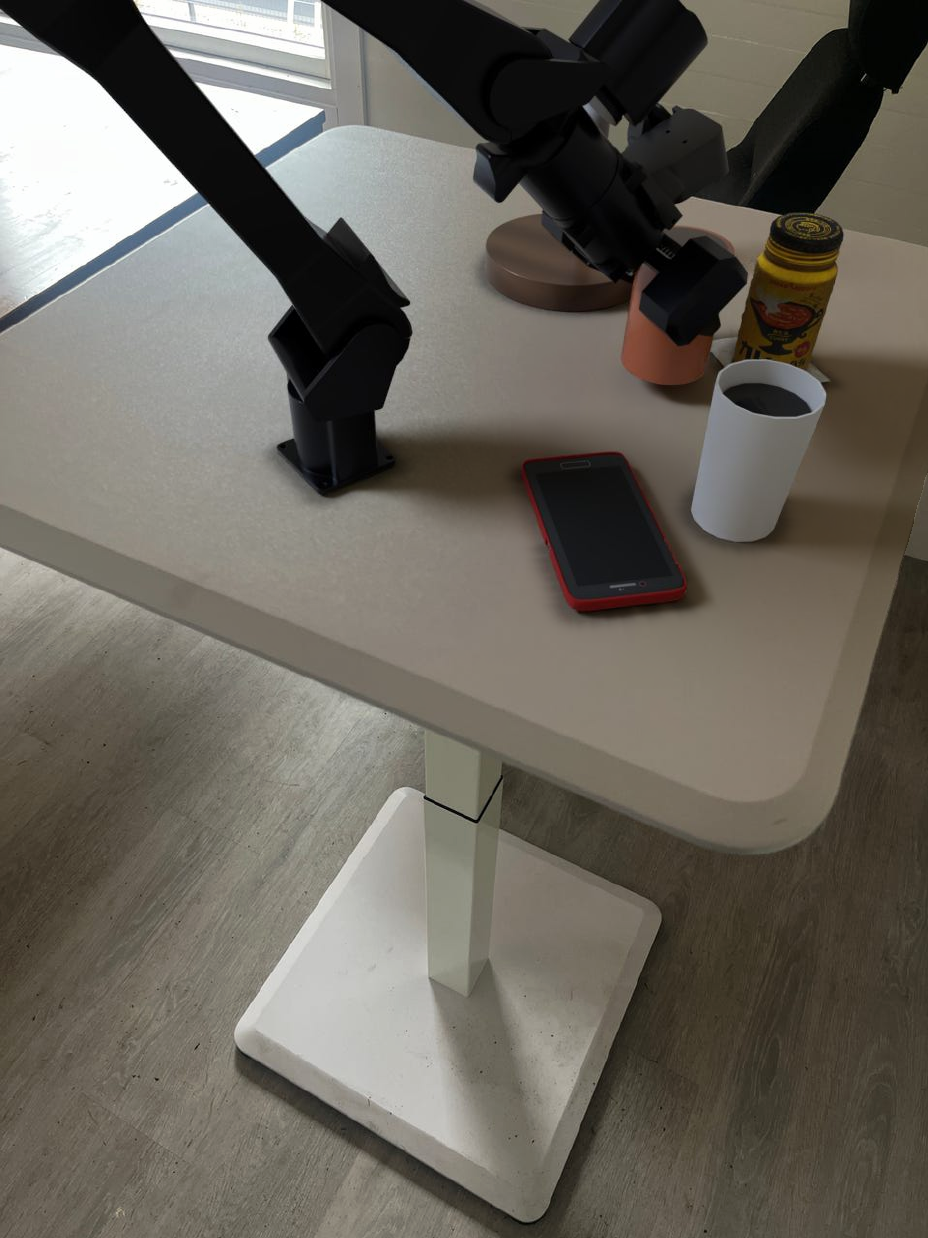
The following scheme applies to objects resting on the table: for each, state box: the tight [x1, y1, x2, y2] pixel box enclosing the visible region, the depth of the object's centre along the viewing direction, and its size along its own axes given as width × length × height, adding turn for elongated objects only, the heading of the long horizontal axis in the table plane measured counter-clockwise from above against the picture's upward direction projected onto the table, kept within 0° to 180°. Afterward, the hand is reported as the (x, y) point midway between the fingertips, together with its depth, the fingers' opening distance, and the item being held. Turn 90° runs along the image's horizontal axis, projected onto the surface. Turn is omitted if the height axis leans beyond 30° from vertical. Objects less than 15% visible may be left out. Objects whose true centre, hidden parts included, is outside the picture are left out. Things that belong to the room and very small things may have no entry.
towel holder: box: [484, 104, 633, 312], centre depth 82 cm, size 15×15×17 cm
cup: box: [620, 225, 735, 386], centre depth 71 cm, size 7×7×10 cm
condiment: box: [710, 211, 845, 384], centre depth 74 cm, size 7×8×12 cm
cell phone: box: [520, 450, 688, 612], centre depth 62 cm, size 8×15×1 cm, turn 10°
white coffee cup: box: [690, 360, 827, 543], centre depth 61 cm, size 7×7×10 cm
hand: (688, 308), depth 72 cm, fingers closed on cup, 7 cm apart
